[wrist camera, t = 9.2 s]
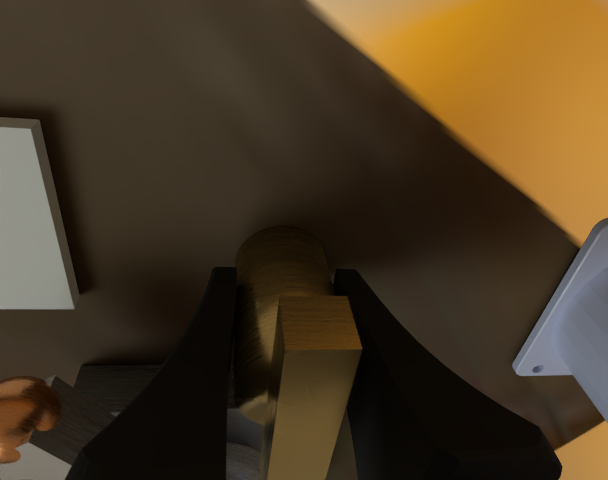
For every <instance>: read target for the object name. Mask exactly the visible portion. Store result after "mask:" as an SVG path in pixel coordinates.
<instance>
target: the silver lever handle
mask: <svg viewBox="0 0 608 480" xmlns="http://www.w3.org/2000/svg"><path fill="white" fill-rule="evenodd" d="M115 417H116V416H114V415H113V414H111V413H110V412H108V411H107V410H105V409H104V408H102V407H101V406H100V405H98V404H97V403H95V402H94V401H92V400H91V399H89V398H88V397H86V396H85V395H83V394H82V393H80V392H79V391H77V390H76V389H74V388H73V387H71V386H70V385H68V384H67V383H65V382H64V381H62V380H61V379H60V378H58V377H57V376H53V377H50V378H48V379H46V380H42V379H39V378H36V377H31V376H17V377H11V378H7V379H4V380H2V381H0V479H2V480H65V478H66V476H67V474H68V472H69V470H70V468H71V466H72V464H73V462H74V460H75V459H76V457H77V455H78V453H79V451H80V450H81V448H82V447H84V446H85V445H86V444H87V443H88V442H89V441H90V440H91V439H92V438H94V437H95V436H96V435H97V434H98V433H99V432H100V431H101V430H102V429H103V428H105V427H106V426H107V425H108V424H109V423H110V422H111V421H112V420H113V419H114V418H115ZM260 457H261V452H259V451H257V450H255V449H252V448H250V447H247V446H243V445H240V444H235V443H229V442H227V449H226V480H260Z"/></svg>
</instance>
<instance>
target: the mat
mask: <svg viewBox="0 0 608 480" xmlns="http://www.w3.org/2000/svg"><path fill="white" fill-rule="evenodd" d="M78 299H79V291H78V287H77V283H76V278H75V274H74V269H73V265H72V261H71V256H70V252H69V247H68V243H67V239H66V234H65V230H64V225H63V221H62V217H61V212H60V208H59V203H58V199H57V195H56V190H55V186H54V181H53V177H52V173H51V168H50V164H49V159H48V155H47V151H46V146H45V142H44V137H43V133H42V129H41V124H40V120H37V119H22V118H7V117H0V309H75V306H76V304H77V301H78Z"/></svg>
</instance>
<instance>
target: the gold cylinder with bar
mask: <svg viewBox="0 0 608 480" xmlns="http://www.w3.org/2000/svg"><path fill="white" fill-rule="evenodd" d="M235 267H237V297H236V315H235V364H234V398H235V403H236V406H237V407H238V409H239V410H240V412H241V413H242V414H243V415H244V416H245V417H247V418H248V419H250V420H252V421H254V422H256V423H259V424H261V425H264V431H263V440H262V449H261V457H260V480H325V478H326V475H327V471H328V468H329V464H330V461H331V457H332V454H333V450H334V447H335V443H336V440H337V436H338V433H339V429H340V426H341V422H342V419H343V415H344V412H345V408H346V406H347V405H348V404H349V403H350V402H351V401H352V399H353V397H354V395H355V393H356V390H357V379H356V375H355V374H356V370H357V367H358V363H359V360H360V356H361V353H362V346H361V342H360V339H359V335H358V332H357V328H356V325H355V321H354V318H353V314H352V311H351V307H350V304H349V300H348V297H347V296H335V292H334V288H333V284H332V281H331V277H330V273H329V269H328V265H327V261H326V257H325V253H324V250H323V248H322V246H321V244H320V243H319V241H318V240H317V239H316V238H315V237H313V236H312V235H311V234H309V233H307V232H305V231H303V230H300V229H297V228H293V227H274V228H269V229H265V230H263V231H260V232H258V233H256V234H254V235H253V236H251V237H250V238H249V239H248V240H246V241H245V242H244V244H243V245H242V246H241V248H240V249H239V251H238V253H237V256H236V261H235Z"/></svg>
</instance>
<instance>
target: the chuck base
mask: <svg viewBox="0 0 608 480" xmlns="http://www.w3.org/2000/svg"><path fill="white" fill-rule="evenodd" d="M234 364H235V363H232V372H231V380H230V389H229V398H228V406H227V442H229V443H235V444H240V445H243V446H247V447H250V448H252V449H255V450H257V451H259V452H261V449H262V440H263V431H264V425H261V424H259V423H256V422H254V421H252V420H250V419H248V418H247V417H245V416H244V415H243V414H242V413H241V412H240V410H239V409H238V407H237V406H236V403H235V398H234ZM161 365H162V364H156V365H99V366H81V367H80V370H79V373H78V376H77V379H76V382H75V385H74V389H76V390H77V391H79V392H80V393H82V394H83V395H85V396H86V397H88V398H89V399H91V400H92V401H94V402H95V403H97V404H98V405H100V406H101V407H102V408H104V409H105V410H107V411H108V412H110V413H111V414H113V415H114V416H117V415H118V414H119V413H120V412H121V411H122V410H123V409H124V408H125V407H126V406H127V405H128V404H129V403H130V402H131V400H132V399H133V398H134V397H135V396H136V395H137V394H138V393H139V392H140V391H141V390H142V389H143V387H144V386H145V385H146V384H147V383H148V382H149V380H150V379H151V378H152V377H153V375H154V374H155V373H156V372H157V370H158V369H159V368H160V367H161Z"/></svg>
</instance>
